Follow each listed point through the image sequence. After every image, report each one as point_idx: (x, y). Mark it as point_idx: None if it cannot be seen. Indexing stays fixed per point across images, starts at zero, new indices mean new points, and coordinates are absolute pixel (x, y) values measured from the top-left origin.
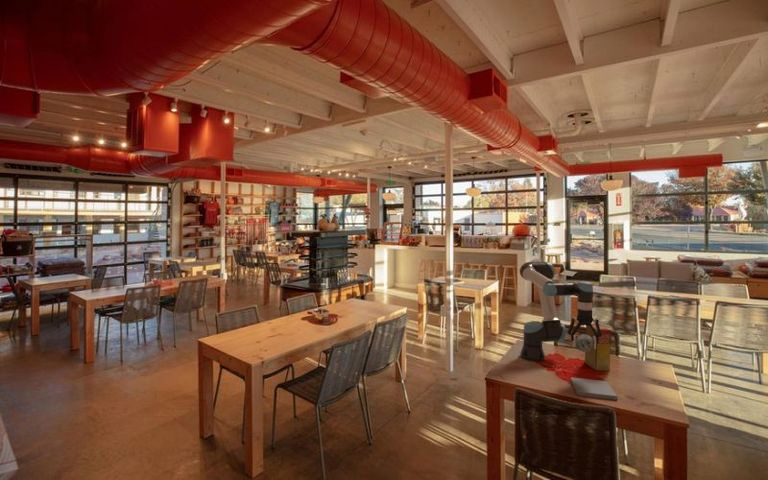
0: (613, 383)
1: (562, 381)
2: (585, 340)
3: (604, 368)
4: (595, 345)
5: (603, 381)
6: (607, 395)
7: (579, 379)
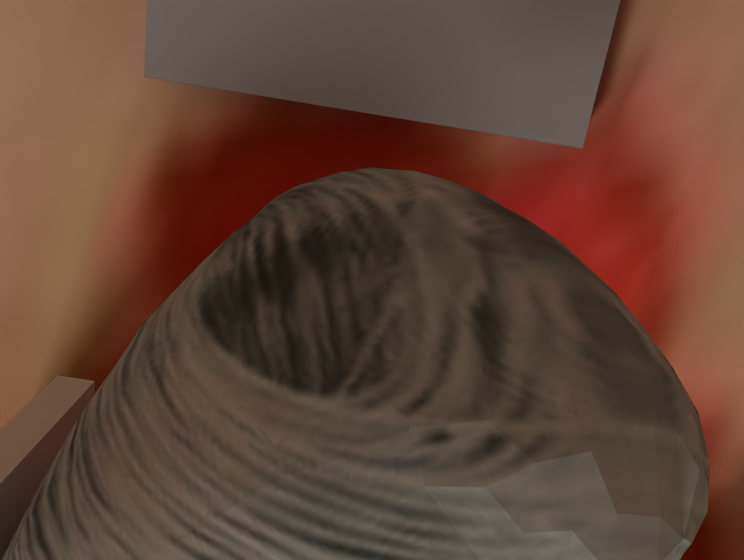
0: (65, 125)
1: (692, 111)
2: (418, 365)
3: None
4: (12, 435)
5: (188, 59)
6: None
7: (492, 89)
